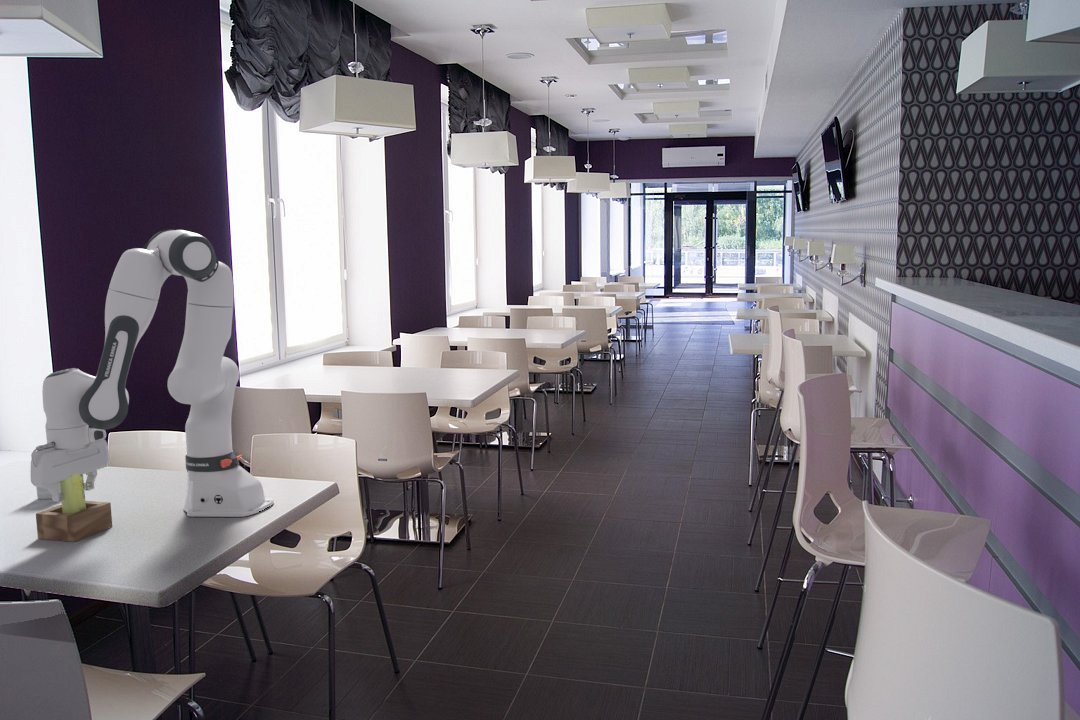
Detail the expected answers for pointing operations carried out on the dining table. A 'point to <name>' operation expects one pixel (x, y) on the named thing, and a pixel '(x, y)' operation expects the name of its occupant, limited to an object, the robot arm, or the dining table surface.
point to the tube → (73, 494)
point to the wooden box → (74, 522)
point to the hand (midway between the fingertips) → (73, 495)
